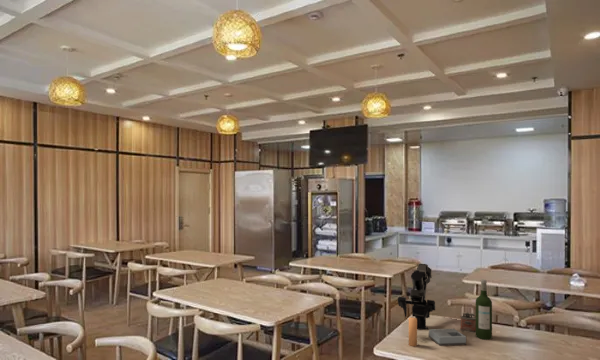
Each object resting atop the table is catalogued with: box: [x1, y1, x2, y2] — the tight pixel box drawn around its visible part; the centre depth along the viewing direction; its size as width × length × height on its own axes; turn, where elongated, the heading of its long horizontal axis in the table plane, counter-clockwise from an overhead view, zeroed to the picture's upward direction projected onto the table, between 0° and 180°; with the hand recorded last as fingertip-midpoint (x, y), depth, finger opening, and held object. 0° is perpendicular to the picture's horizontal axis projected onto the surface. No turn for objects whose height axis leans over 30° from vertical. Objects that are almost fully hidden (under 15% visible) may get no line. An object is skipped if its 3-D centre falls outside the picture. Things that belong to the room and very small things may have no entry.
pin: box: [408, 316, 418, 347], centre depth 204 cm, size 4×4×13 cm
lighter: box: [460, 311, 476, 334], centre depth 225 cm, size 8×3×10 cm, turn 62°
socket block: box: [428, 328, 467, 346], centre depth 210 cm, size 12×14×4 cm
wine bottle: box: [475, 279, 493, 341], centre depth 216 cm, size 8×8×30 cm
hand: (414, 318), depth 209 cm, fingers open, 9 cm apart
